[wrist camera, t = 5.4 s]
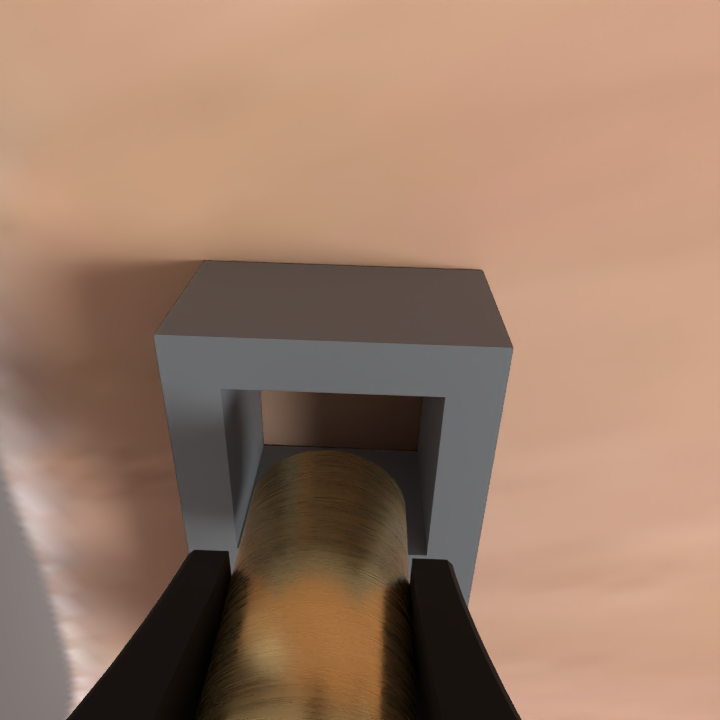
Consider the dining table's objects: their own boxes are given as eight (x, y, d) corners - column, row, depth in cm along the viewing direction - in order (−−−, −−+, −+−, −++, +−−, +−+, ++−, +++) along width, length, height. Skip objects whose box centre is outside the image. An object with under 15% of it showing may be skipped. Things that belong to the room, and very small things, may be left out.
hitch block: (429, 662, 23) (437, 776, 20) (246, 654, 23) (223, 767, 20) (482, 270, 15) (513, 348, 12) (204, 260, 15) (153, 334, 12)
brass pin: (344, 585, 14) (311, 1172, 7) (222, 519, 13) (40, 1120, 6) (437, 501, 12) (513, 1124, 5) (308, 422, 12) (207, 1047, 5)
